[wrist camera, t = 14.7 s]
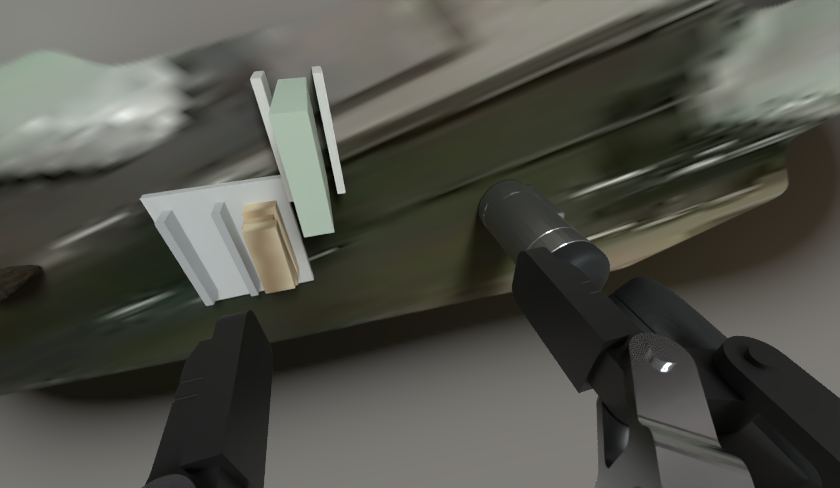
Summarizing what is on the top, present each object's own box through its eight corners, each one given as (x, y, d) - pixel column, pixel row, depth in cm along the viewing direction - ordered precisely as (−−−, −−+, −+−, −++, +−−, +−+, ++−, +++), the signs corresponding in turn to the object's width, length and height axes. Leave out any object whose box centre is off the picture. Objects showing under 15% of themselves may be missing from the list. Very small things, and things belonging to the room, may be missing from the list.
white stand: (320, 65, 37) (322, 72, 34) (342, 179, 46) (345, 192, 42) (254, 71, 36) (250, 78, 33) (290, 187, 44) (289, 202, 41)
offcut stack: (277, 200, 44) (274, 224, 39) (300, 267, 51) (300, 294, 46) (243, 205, 43) (236, 230, 38) (271, 273, 50) (268, 301, 46)
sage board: (305, 77, 37) (307, 110, 27) (326, 174, 45) (334, 232, 34) (278, 79, 37) (268, 114, 26) (303, 178, 44) (304, 237, 33)
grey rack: (281, 174, 43) (280, 188, 40) (313, 276, 54) (314, 292, 51) (142, 194, 40) (129, 211, 37) (206, 298, 51) (200, 317, 48)
